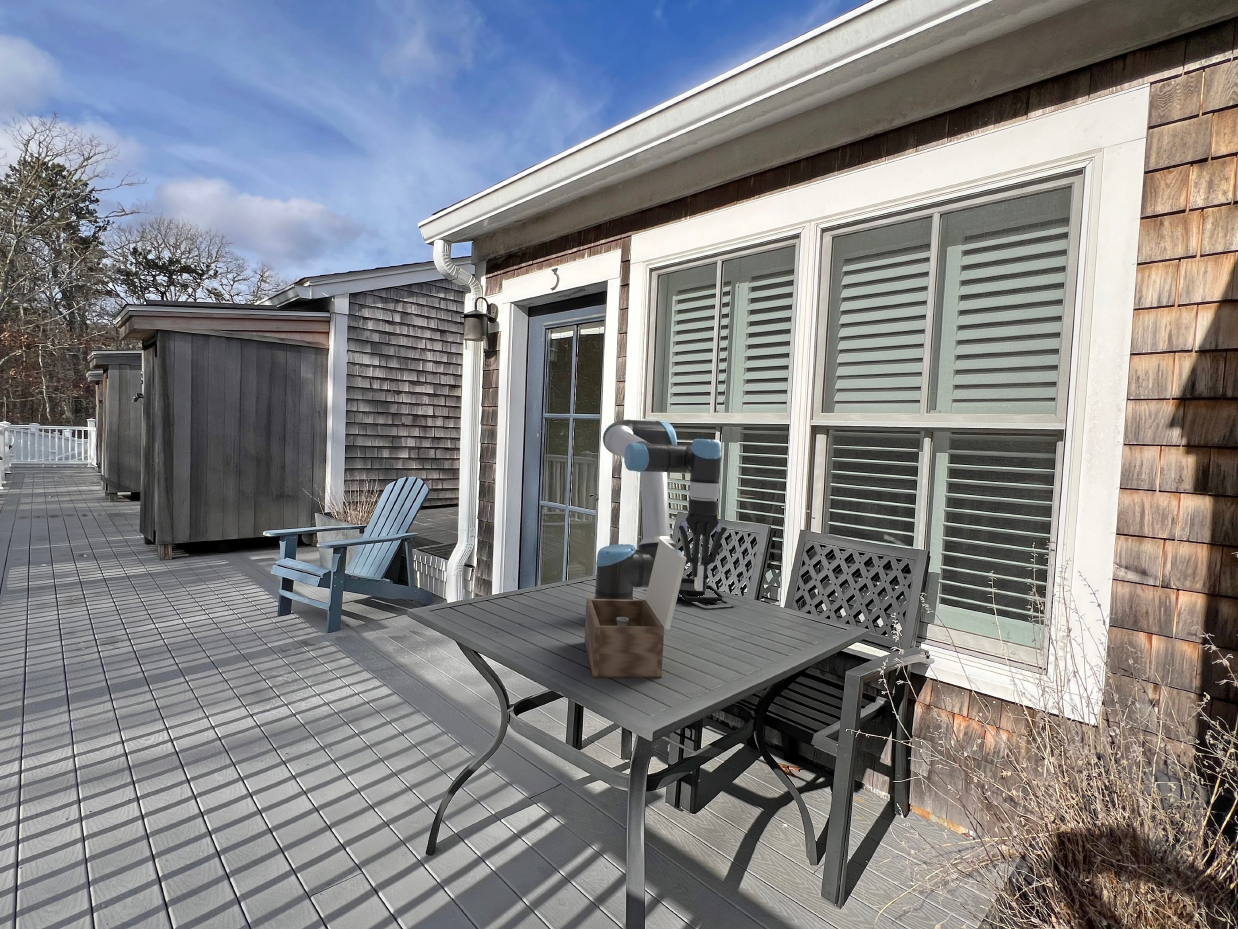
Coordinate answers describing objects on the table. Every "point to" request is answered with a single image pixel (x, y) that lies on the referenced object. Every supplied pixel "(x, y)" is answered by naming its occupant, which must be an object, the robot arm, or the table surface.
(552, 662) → the table surface
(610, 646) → the bin
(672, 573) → the lid
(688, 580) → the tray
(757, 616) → the table surface
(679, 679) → the table surface
